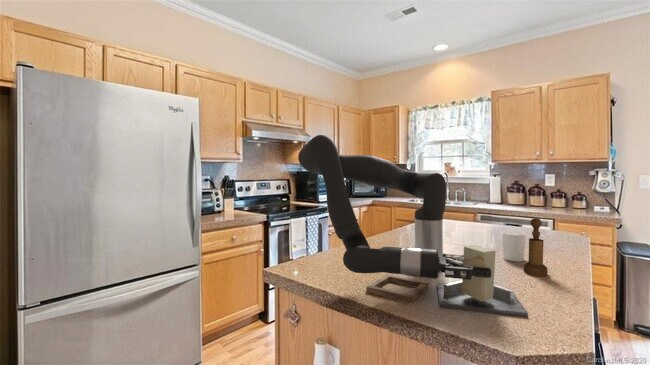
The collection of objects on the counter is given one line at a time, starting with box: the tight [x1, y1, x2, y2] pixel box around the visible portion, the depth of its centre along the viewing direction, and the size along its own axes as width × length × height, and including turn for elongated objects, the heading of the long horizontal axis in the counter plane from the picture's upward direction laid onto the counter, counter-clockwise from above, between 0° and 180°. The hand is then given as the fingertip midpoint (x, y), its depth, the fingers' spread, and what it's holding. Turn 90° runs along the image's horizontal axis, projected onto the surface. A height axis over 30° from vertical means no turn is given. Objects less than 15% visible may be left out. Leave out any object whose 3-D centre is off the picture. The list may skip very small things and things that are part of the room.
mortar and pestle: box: [523, 217, 548, 277], centre depth 104 cm, size 7×6×18 cm
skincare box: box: [461, 244, 497, 301], centre depth 80 cm, size 6×4×12 cm
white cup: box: [501, 230, 527, 263], centre depth 121 cm, size 8×8×10 cm
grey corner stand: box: [436, 279, 529, 318], centre depth 83 cm, size 16×19×4 cm
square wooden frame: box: [365, 274, 430, 304], centre depth 90 cm, size 13×13×2 cm
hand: (487, 268), depth 79 cm, fingers closed on skincare box, 7 cm apart
